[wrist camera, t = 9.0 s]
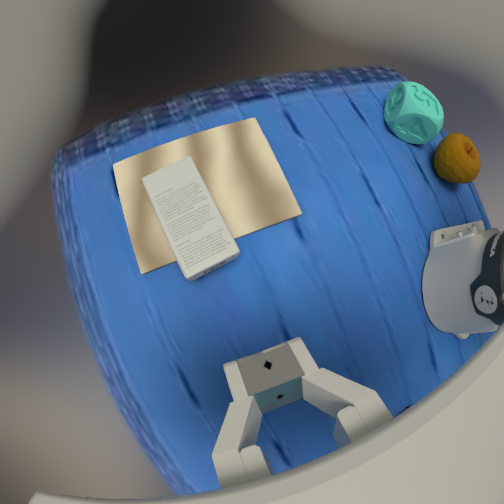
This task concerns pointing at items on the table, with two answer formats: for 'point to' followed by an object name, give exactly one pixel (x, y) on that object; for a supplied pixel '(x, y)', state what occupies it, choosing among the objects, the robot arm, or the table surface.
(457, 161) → the apple
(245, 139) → the birch board
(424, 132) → the decorative dice
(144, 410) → the table surface
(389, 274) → the table surface
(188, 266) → the skincare box
